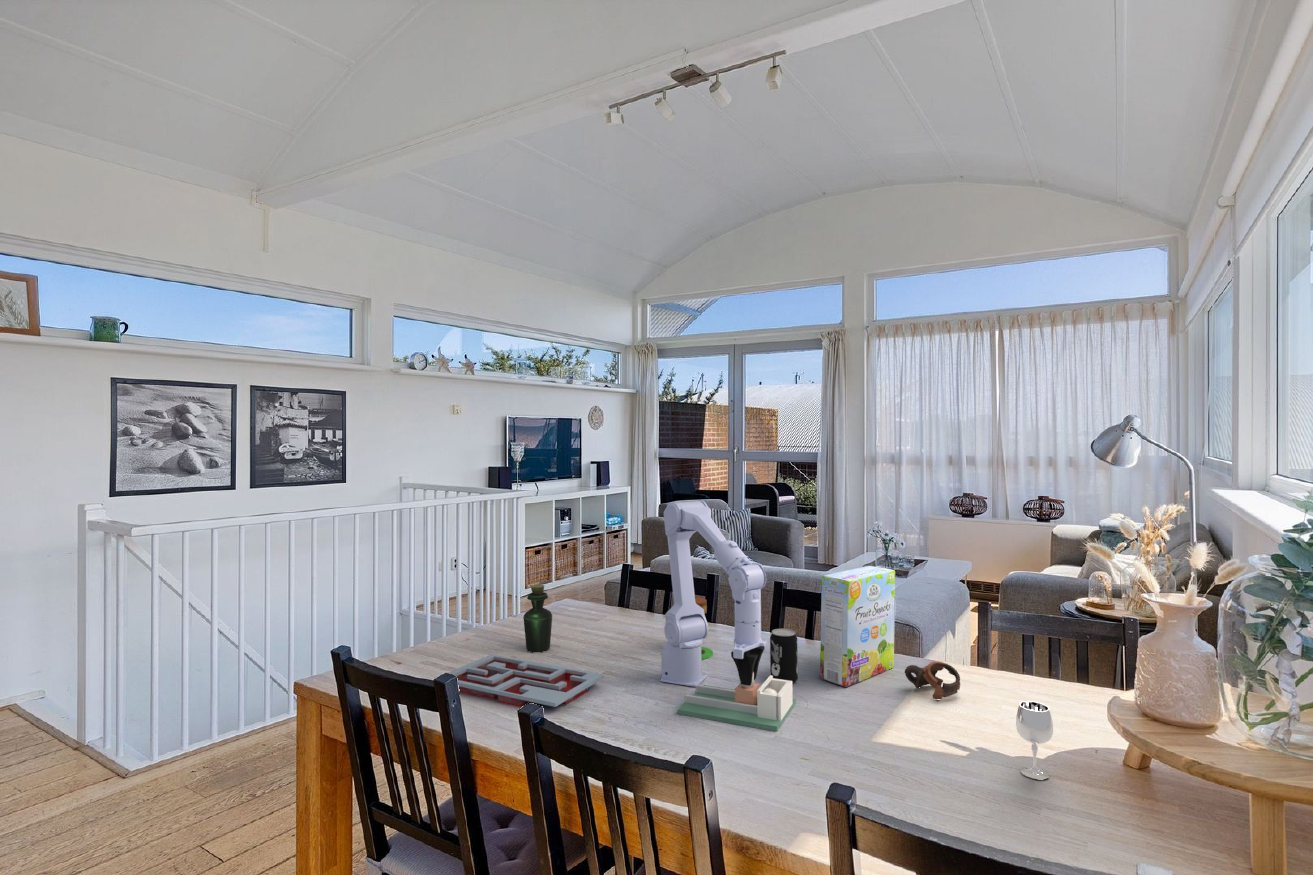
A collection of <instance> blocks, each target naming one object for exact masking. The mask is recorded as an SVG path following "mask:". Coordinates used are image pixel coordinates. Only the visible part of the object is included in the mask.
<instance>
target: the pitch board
mask: <svg viewBox="0 0 1313 875" xmlns="http://www.w3.org/2000/svg"><path fill="white" fill-rule="evenodd" d="M796 704H797V699H796V698H793V704H792V705H791V707H790V708H789V710H788V711H787V713H786V714H785V716H784V717H783V719H782V720H781V721H778V720H772V719H766V718H760V717H758V715H757V706H755V705H749V704H743V703H737V702H735V688H734V689H733V688H727V687H720V686H715V685H713V686H712V685H708V684H703V685H702V684H699V685H696V687H695V692H694V693H693V694H685V695H684V703H683V704H682V705H681V706H680V707H678V708H677V715H679V716H686V717H693V718H699V719H702V720H709V721H715V722H719V723H726V724H732V725H736V726H737V725H738V726H744V727H749V728H755V729H760V730H767V731H772V732H778V731H779V730H780V728H781V727H782V725H783V723H784V722H785V720H786V719H787V718H788V716H789V715H790V713H791V712H792V711H793V708H794V707H795V706H796Z"/></svg>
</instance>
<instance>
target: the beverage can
mask: <svg viewBox="0 0 1313 875" xmlns="http://www.w3.org/2000/svg"><path fill="white" fill-rule="evenodd" d="M769 652H770V654H769V659H770V660H769V662H770V666H769V667H770V670H769V671H770V674H769V676H770V675H772V676H773V678H774V679H781V680H788V681H792V685H793V684H795V683H796V682H797V680H798V679H799V678H798V677H799V676H798V675H799V674H798V672H799V670H798V664H799V663H798V660H799V659H798V657H799V656H798V637H797V635H796V631H795V630H793V629H791V628H790V629H789V628H775V629H772V630H771V635H770V638H769Z"/></svg>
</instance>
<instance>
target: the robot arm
mask: <svg viewBox="0 0 1313 875" xmlns="http://www.w3.org/2000/svg"><path fill="white" fill-rule="evenodd" d="M663 521H664V530H665V531H664V532H665V536H667V546H668V556H669V564H670V567H669V568H670V575H671V586H672V588H671V589H672V595H673V597H672V598H673V605H672V607H670V608H669V609H668V610H667V611H666V613H665V616H664V617H665V623H664V624H665V625H664V635H665V639H666V640H667V641H666V642H665V643H664V644H663V646H662V649H661V679H660V682H662V683H669V684H675V685H681V686H688V687H694V688H696V685H701V683H702V682H703V681H704V680H705V679H707V677H708V674H704V673H702V660H701V647H702V643H703V644H705V642H704V640H705V639H706V638H707V637H708V633H709V624H708V623H709V622H708V621H706V620H707V618H706V615H705V614H706V613H705V614H704V609H703V608H701V607H700V606H699V605H697V604H696V603H695V597H696V595H695V594H696V593H695V587H694V586H695V585H694V577H693V576H694V575H693V568H692V566H693V565H692V556H691V555H692V554H691V547H690V539H691V538H692V536H693V535H694V534H695V533H696V532H698V533H699V534H700V535H701V537H702V538H704V540H705V541H706V542H707V543H708V544H709V545H710V546H711V547H712V549H714V552H713V556H714V558H715V560H716V561H717V563H718V564H719V565H720V566H721V567H722V569H723V570H724V571H725V573H726V574H727V575H728V578H727V579H728V584H729V587H730V589H731V597H732V599H733V600H734V639H733V646H734V647H733V649H732V650H731V652H730V655H731V656H730V657H731V658H732V660H733V662H734V664H735V667H736V670H737V673H738V674H737V675H738V678H739V682H740V683H741V685H748V686H750V685H751V683H752V677H753V672H754V682H755V681H756V678H757V677H758V676H757V675H758V669H759V664H760V661H761V659H762V656H763V653H764V651H765V650H766V648H765V646H766V645H767V643H768V642H767V640H763V637H762V634H763V632H762V596H761V595H762V593H761V592H762V591H761V590H762V589H763V588H765V586H766V583H767V574H766V571H765V569H764V567H763V566H762V564H761V563H759V562H754V561H753V560H750V559H749V558H748V557H747V556H746V554H745V553H744V552H743V550H741V548H740V547H739V545H738V544H737V543H736V541H733V540H727V538H726V537H725V536H724V535H723V533H722V531H721V529H719V527H718V526H717V524H716V523H715V521H714V520H713V519H712V510H711V508H710V507H709V506H708V504H707V502H706V501H704V500H702V499H700V500H699V499H698V500H697V501H696V500H695V501H694V500H693V501H680V502H675V501H673V502H672V501H671V502H669V503H668V504H667V505H666V508H665V509H664V511H663ZM690 615H692V616H690ZM707 622H708V623H707Z"/></svg>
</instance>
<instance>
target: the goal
mask: <svg viewBox="0 0 1313 875" xmlns="http://www.w3.org/2000/svg"><path fill="white" fill-rule="evenodd" d="M767 686H768V688H771V689H774V690H775V691H776V692H777V693H778V694H771V693H764V692H762V691H763V690H764V689H766V687H767ZM793 699H794V698H793V684H792V681H788V680H781V679H774V678H773V676H772V675H770V674H769V676H768V677H767V679H766V680H765V681H764V682H763V683H762V684H760V688H759V689H758V690H757V715H758V717H760V718H766V719H772V720H778V721H781V720H782V719H783V717H784V716H785V714H786V713H787V711H788V710H789V708H790V707H791V705H792V704H793Z"/></svg>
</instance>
